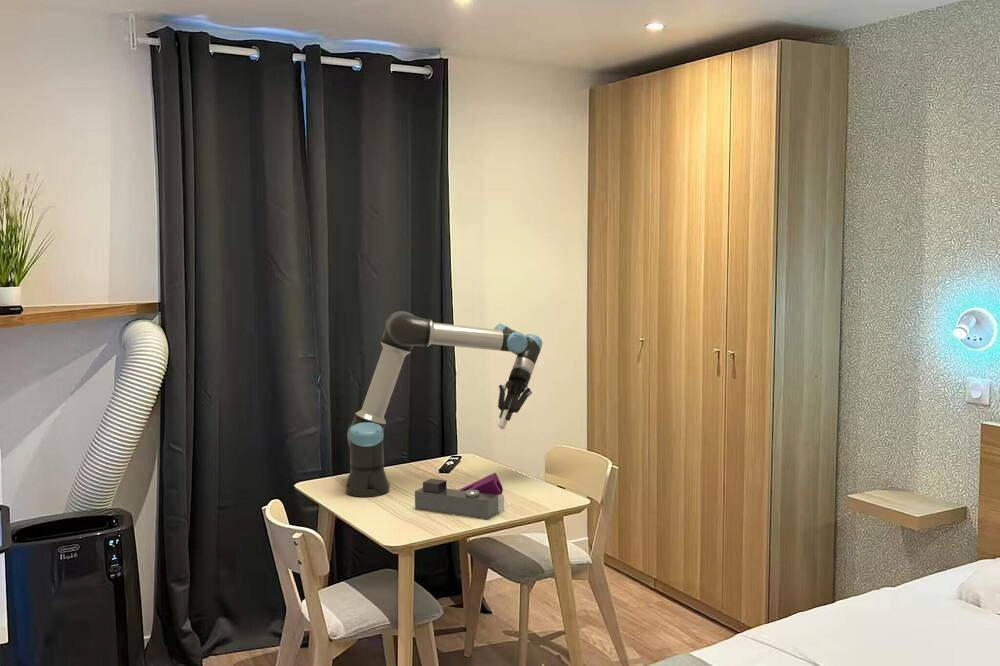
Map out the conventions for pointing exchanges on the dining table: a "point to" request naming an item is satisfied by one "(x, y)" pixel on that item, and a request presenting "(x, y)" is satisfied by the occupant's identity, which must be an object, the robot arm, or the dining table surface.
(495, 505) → the block
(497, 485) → the mounting bracket
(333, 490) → the dining table surface
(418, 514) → the dining table surface
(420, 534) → the dining table surface
